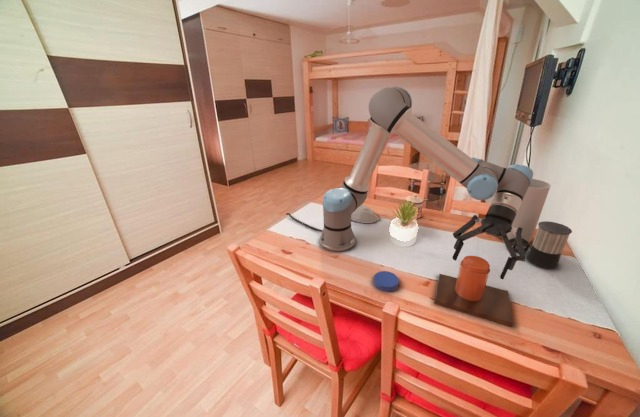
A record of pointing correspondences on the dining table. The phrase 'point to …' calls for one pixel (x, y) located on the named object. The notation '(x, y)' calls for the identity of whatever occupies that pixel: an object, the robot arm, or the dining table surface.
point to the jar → (472, 278)
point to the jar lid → (386, 281)
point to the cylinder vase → (530, 209)
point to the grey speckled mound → (364, 215)
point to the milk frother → (546, 244)
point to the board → (488, 307)
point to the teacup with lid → (416, 203)
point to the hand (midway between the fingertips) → (476, 268)
